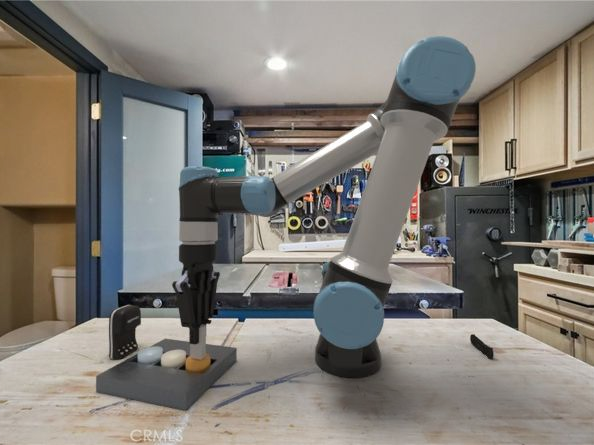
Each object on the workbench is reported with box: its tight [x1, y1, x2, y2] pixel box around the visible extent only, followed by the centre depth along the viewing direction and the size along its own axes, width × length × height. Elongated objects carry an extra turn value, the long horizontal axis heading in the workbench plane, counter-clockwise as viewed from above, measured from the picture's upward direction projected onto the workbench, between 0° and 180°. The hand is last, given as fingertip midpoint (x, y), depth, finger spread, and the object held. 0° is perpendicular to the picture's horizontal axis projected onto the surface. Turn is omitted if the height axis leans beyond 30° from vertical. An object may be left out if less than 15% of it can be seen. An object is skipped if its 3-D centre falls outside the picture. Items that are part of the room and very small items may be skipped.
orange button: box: [186, 353, 210, 373], centre depth 57 cm, size 5×5×3 cm
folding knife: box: [469, 333, 495, 360], centre depth 69 cm, size 10×1×3 cm, turn 172°
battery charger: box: [108, 304, 142, 360], centre depth 68 cm, size 7×4×11 cm, turn 171°
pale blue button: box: [137, 346, 163, 365], centre depth 60 cm, size 5×5×3 cm
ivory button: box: [161, 350, 186, 369], centre depth 58 cm, size 5×5×3 cm
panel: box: [95, 338, 238, 411], centre depth 58 cm, size 20×18×3 cm
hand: (197, 357), depth 57 cm, fingers closed
